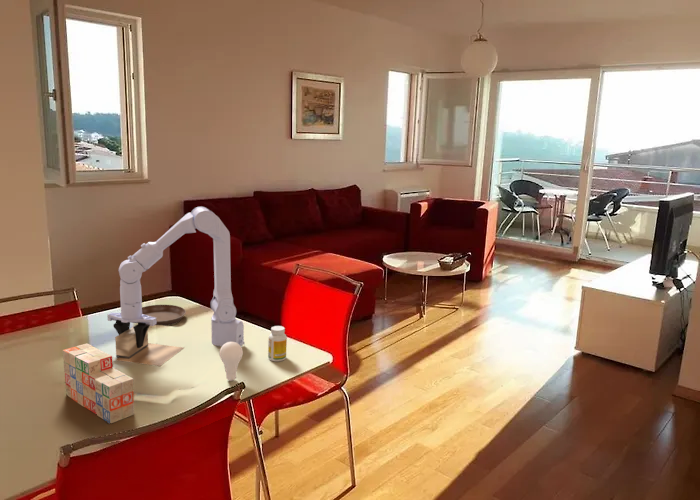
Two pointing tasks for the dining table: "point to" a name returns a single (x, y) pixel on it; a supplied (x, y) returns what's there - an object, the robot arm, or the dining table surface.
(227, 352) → the lightbulb
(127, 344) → the block
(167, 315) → the plant saucer
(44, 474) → the dining table surface
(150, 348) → the oak board
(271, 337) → the supplement bottle
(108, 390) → the stack of blocks
